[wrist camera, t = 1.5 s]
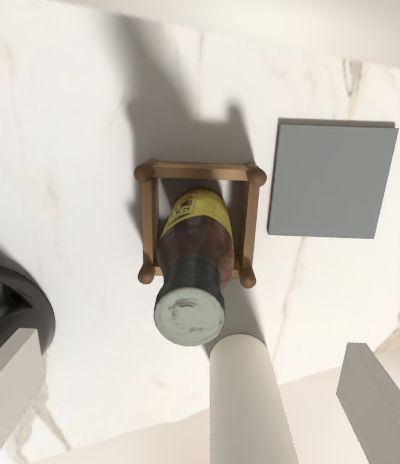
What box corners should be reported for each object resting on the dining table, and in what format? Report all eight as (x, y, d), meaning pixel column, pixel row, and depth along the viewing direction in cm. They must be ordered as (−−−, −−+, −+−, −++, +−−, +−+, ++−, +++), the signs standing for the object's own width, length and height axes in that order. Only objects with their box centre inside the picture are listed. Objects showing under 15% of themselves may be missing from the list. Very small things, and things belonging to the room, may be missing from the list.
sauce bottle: (185, 176, 34) (159, 237, 16) (236, 199, 35) (270, 284, 16) (164, 228, 36) (117, 337, 18) (212, 248, 37) (218, 374, 18)
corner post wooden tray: (148, 260, 38) (137, 284, 32) (146, 158, 34) (133, 164, 28) (248, 264, 38) (255, 288, 32) (257, 162, 34) (267, 169, 28)
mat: (267, 233, 36) (268, 234, 36) (279, 124, 32) (280, 124, 32) (371, 237, 36) (373, 238, 36) (395, 128, 32) (398, 128, 32)
